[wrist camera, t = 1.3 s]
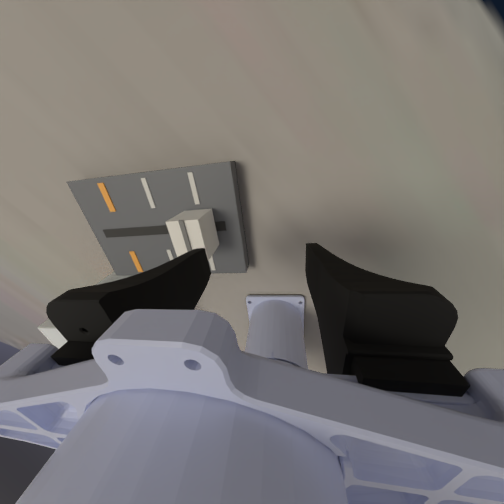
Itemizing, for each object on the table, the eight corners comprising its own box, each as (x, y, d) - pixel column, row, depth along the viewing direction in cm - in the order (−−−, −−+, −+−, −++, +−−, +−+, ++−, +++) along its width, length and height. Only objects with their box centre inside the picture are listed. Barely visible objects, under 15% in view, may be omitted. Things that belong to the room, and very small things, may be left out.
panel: (248, 263, 24) (246, 273, 22) (127, 267, 27) (116, 275, 25) (234, 160, 18) (229, 161, 16) (84, 179, 21) (65, 181, 19)
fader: (219, 244, 20) (207, 262, 17) (194, 246, 21) (178, 263, 17) (211, 208, 18) (197, 219, 15) (184, 210, 19) (164, 221, 16)
